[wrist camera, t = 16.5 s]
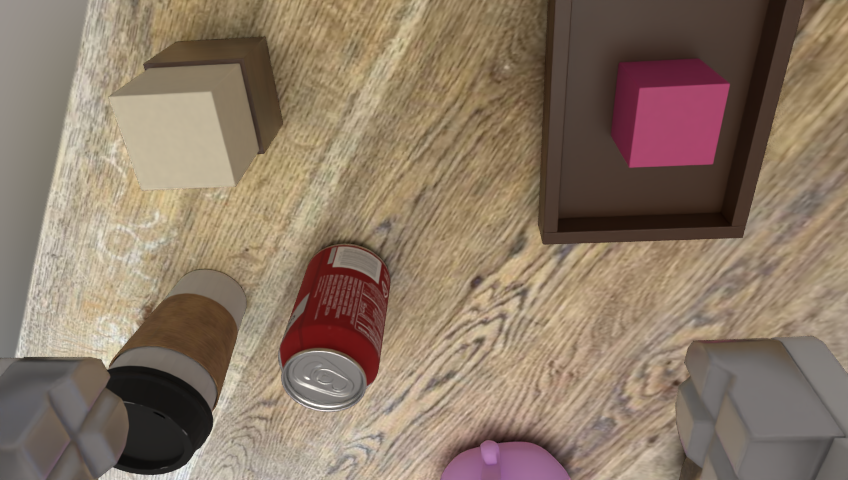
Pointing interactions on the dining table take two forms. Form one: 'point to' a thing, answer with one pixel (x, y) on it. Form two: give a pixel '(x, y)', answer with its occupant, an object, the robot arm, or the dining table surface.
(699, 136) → the pink block
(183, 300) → the coffee cup
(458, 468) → the teapot
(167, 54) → the walnut block
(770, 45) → the tray
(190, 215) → the dining table surface
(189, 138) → the cream block
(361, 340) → the soda can
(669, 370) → the dining table surface
